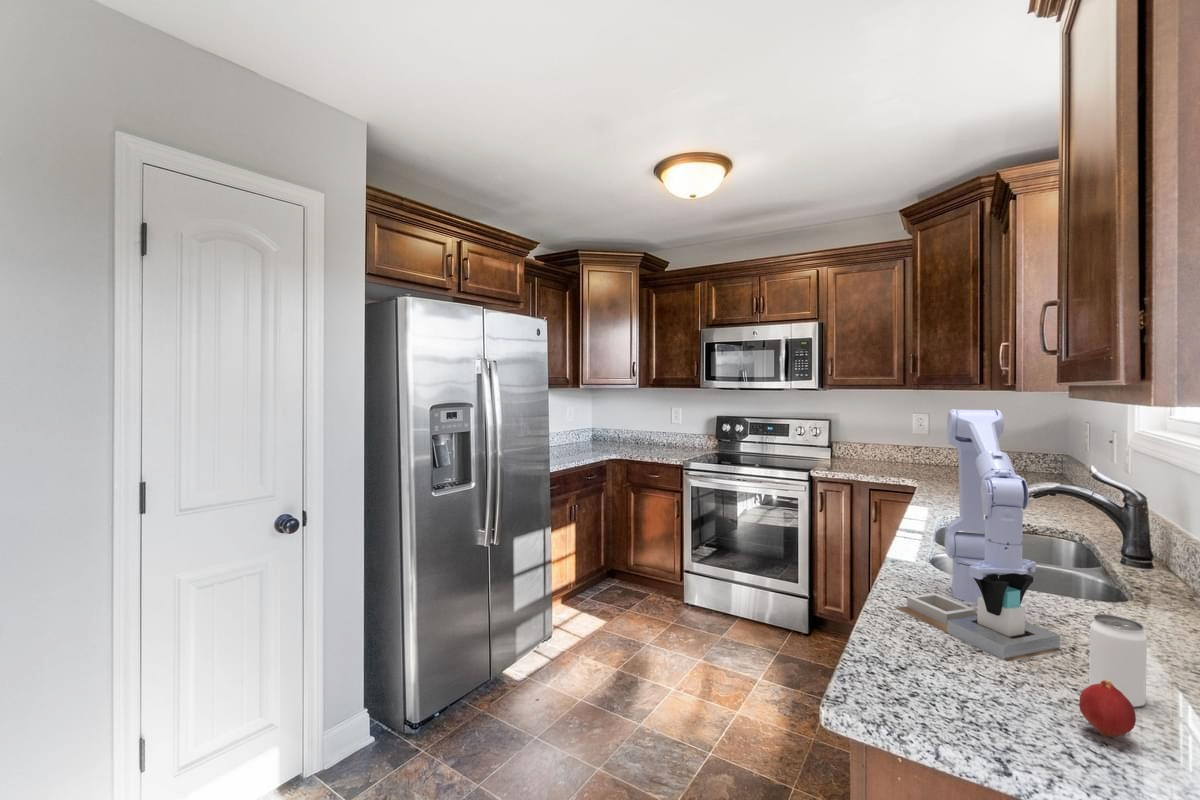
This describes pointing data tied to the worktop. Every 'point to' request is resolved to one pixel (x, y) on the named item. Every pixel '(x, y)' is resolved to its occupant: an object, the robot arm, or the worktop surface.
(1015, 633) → the plug
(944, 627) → the panel board
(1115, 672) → the can
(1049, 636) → the port
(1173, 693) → the worktop surface
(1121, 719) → the onion
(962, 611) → the grey rectangular frame
